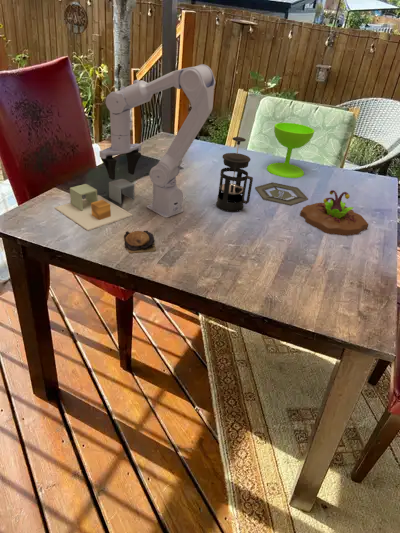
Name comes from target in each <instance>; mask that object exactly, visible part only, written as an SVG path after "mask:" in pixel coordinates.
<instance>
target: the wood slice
mask: <svg viewBox="0 0 400 533" xmlns="http://www.w3.org/2000/svg"><path fill="white" fill-rule="evenodd" d="M123 241H124V248H126V250H127V252H128V253H129V254H139V253H141V254H142V253H155V252H156V251H157V248H156V247H157V246H156V244H155V242H156V239H155V237H154V234H153V233H151V232H150V231H149V230H143V231H142V230H134V231H132V232H129V231H125V234H124V235H123Z"/></svg>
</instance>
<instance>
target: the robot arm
mask: <svg viewBox="0 0 400 533" xmlns="http://www.w3.org/2000/svg"><path fill="white" fill-rule="evenodd" d="M215 86H216V79H215V75H214V73H213V70H212V69H211V67H210V66H208V65H207V64H204V63H201V64H198V65H196V66H189V67H185V68H179V69H176V70H173V71H171V72H168V73H166V74H164V75H162V76H160V77H158V78H156V79H154V80H151V81H150V82H146V81H145V80H143V79H142V80H139V79H135V80H133V81H132V83H131V84H130V85H128V86H124V85H123V86H121V87H120V88H119V90H117V91H111V92H110V93H108V94H107V96H106V97H105V105H106V108H107V110H108V111H109V116H110V117H109V119H110V120H109V122H110V141H111V142H110V143H111V144H110V146H109V147H107V148H104V149H102V150H101V149H100V150H99V157H100V160H101V161H102V162H103V164H104V166H105V169H106V172H107V176H108V178H109V179H110V180H112V181H115V179H116V165H117V161H118V160H116V159H115V158H114V157H116V156H119V155H123V154H125V155H126V156H125V157H126V158H127V159H126V160H127V172H128V174H130V175H135V171H136V167H137V164H138V163H139V161H140V158H141V157H142V153H141V151H142V145H141V144H139V143H131V117H130V116H131V110H132V109H133V108H136V107H139V106H141V105H143V104H145V103H148V102H150V101H151V100H152V97H153V95H154V94H158V93H160V92H162V91H163V92H164V91H165V90H168V89H170V88H172V87H173V88H175V89H177V90H181V89H182V91H183V93H184V94H185V96H186V97H187V99H188V100H189V102H190V106H191V109H190V111H189V113H188V115H187V116H186V118H185V119H184V122H183V123H182V125H181V126H180V129H179V130H178V131H177V134H176V135H175V136H174V138H173V141H172V142H171V144H170V146H169V147H168V149H167V151H166V152H165V154H164V155H163V156H162V157H161V159H160V160H159V161H158V162H157V164H155V166H153V167H151V169H149V170H150V171H149V175H148V176H149V178H150V181H151V183H152V203H151V204H148V205H146V208H147V209H149V210H150V211H153V212H154V213H156V214H158V215H159V216H162V217H163V218H169V217H173V216H175V215H177V214H181V213H183V212H184V211H185V210H184V209H183V198H184V197H183V196H184V195H183V191H182V190H181V189H180V188H179V187H178V185H177V177H178V176H179V174H180V172H181V165H182V164H183V158H184V157H185V155H186V154H187V152H188V151H189V149H190V147H191V145H192V144H193V143H194V142H195V139H196V137H197V136H198V134H199V132H200V131H201V129H202V128H203V126H204V124H205V123H206V121H207V120H208V118H209V117H210V115H211V113H212V111H213V109H214V94H215V93H214V92H215Z"/></svg>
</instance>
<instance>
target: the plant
mask: <svg viewBox="0 0 400 533" xmlns="http://www.w3.org/2000/svg"><path fill="white" fill-rule="evenodd" d="M329 194H330V195H333V194H334V197H335V198H334V197H326V198H324V199H323V201H322V202H316V203H312V204H307V205H305V206H303V207H302V209H300V213H299V216H300V217H301V218H303V219H304V220H305V223H306V224H308V225H310V226H312V227H314V228H315V229H317V230H319V231H321V232H323V233H325V234H328V235H338V236H354V235H359V234H360V232H363V231H366V230H368V227H369V222H367V220H366V219H365V218H364V217H363V216H362V215H361V214H359V213H357V212H355V211H354V207H353V206H349V207H348V206H346V202H343V201H342V199H343V197H344V198H345V199H346V200H349V199H350V197H351V196H350V194H349V193H348V192H347V191H344V192H343V191H342V193H341V194H340V195H339V196H338V193H337V192H336V190H334V189H331V190H330V191H329ZM329 200H330V201H329Z"/></svg>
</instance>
